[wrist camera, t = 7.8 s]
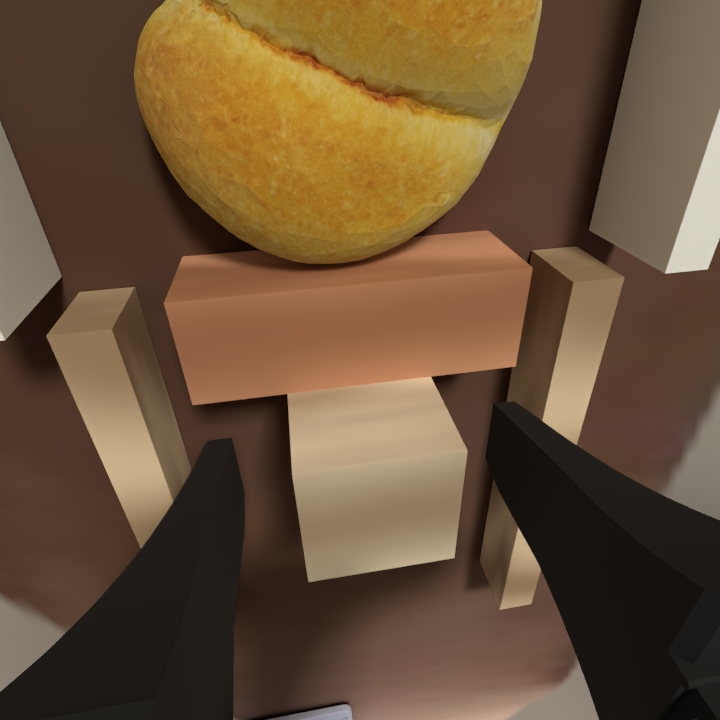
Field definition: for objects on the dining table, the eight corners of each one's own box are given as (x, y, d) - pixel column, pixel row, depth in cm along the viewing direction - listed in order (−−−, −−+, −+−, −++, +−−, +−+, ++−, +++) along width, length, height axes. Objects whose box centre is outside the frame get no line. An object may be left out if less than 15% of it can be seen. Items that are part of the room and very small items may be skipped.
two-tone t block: (467, 410, 19) (540, 543, 14) (227, 441, 18) (211, 598, 13) (488, 230, 15) (600, 324, 10) (182, 256, 14) (134, 376, 9)
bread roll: (121, 176, 13) (69, 224, 9) (227, -308, 9) (201, -524, 5) (398, 284, 15) (433, 350, 12) (571, -41, 12) (692, -76, 8)
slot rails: (508, 556, 24) (531, 604, 22) (199, 608, 22) (192, 664, 20) (576, 246, 15) (624, 277, 13) (79, 291, 14) (46, 335, 12)
